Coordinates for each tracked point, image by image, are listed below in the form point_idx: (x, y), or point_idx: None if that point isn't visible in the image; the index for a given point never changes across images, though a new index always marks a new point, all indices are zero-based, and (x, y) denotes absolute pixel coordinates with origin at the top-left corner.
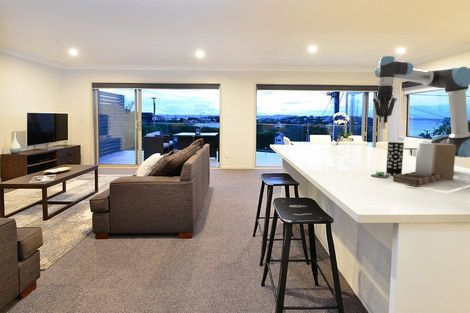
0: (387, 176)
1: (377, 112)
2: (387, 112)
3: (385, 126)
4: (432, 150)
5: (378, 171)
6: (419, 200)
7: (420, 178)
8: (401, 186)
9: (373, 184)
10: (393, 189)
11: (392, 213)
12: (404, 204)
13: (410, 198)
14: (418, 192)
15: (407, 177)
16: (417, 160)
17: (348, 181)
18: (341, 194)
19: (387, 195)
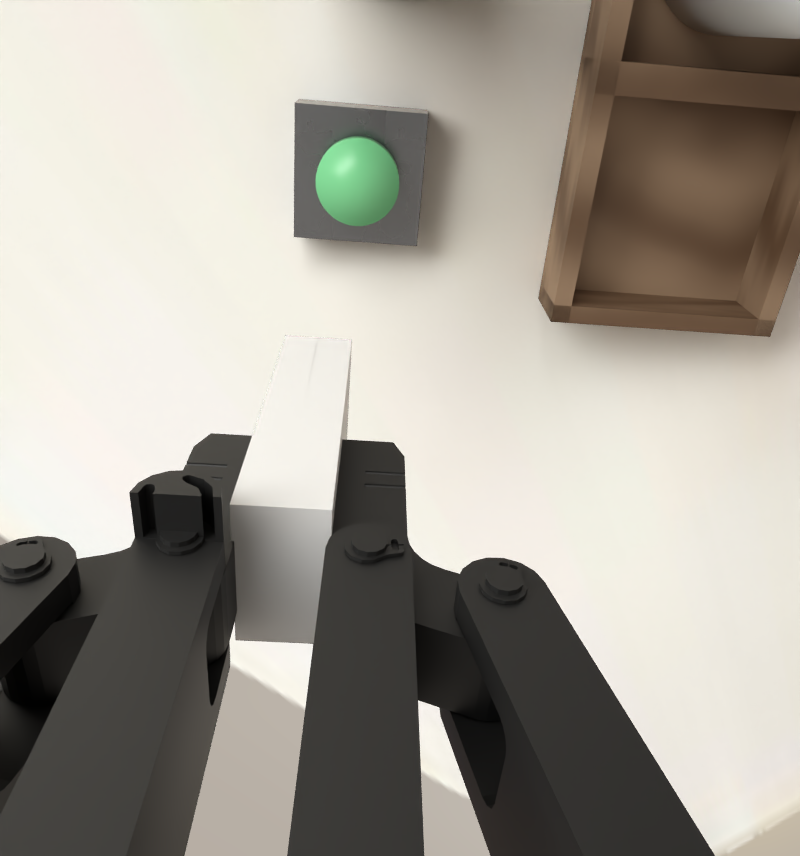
0: (424, 149)
1: (22, 764)
2: (467, 781)
3: (348, 364)
4: None
5: (329, 169)
6: (796, 629)
7: (776, 275)
8: (628, 370)
9: (449, 453)
10: (614, 498)
11: (734, 835)
12: (747, 725)
13: (750, 623)
14: (767, 467)
15: (672, 315)
16: (775, 17)
17: None
18: (455, 758)
19: (635, 644)
